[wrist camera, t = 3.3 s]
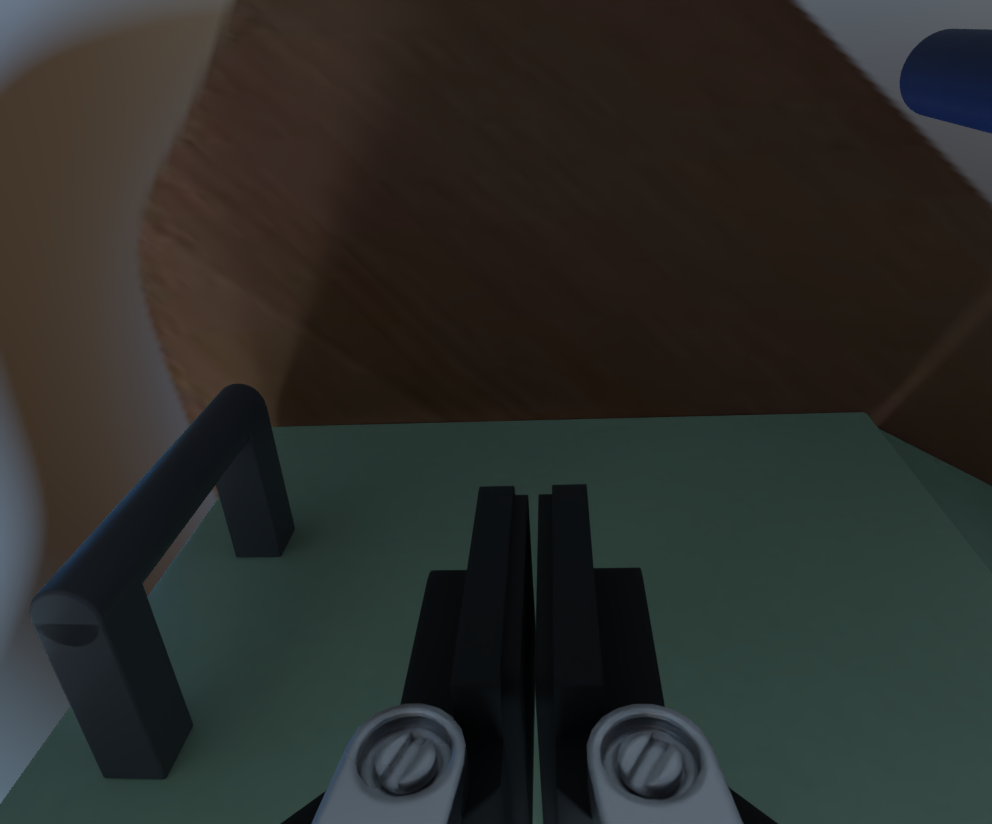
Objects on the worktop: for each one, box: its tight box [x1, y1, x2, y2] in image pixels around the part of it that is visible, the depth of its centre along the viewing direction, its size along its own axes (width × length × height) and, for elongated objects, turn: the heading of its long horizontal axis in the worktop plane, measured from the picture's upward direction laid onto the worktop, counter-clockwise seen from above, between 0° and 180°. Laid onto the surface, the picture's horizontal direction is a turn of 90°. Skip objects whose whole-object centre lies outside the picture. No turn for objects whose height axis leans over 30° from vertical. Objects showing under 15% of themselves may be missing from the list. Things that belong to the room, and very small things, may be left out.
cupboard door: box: [0, 384, 992, 824], centre depth 20 cm, size 7×26×26 cm, turn 94°
